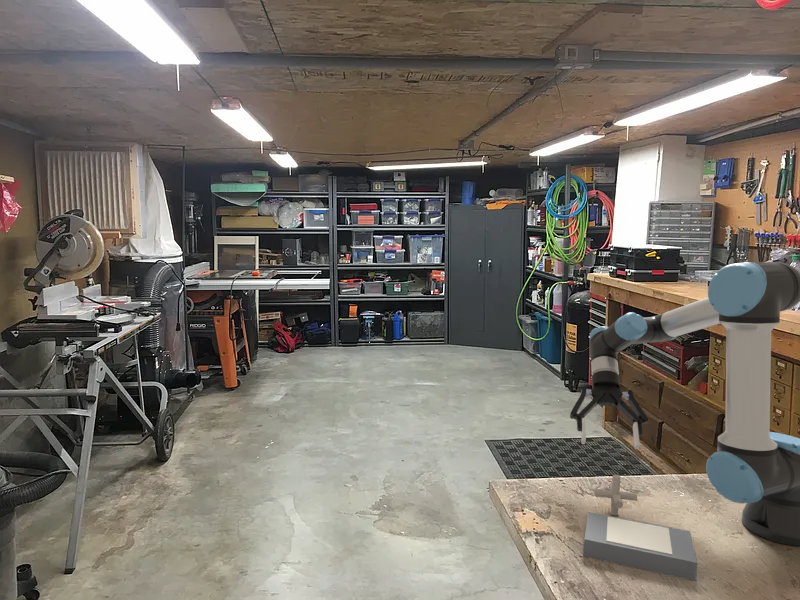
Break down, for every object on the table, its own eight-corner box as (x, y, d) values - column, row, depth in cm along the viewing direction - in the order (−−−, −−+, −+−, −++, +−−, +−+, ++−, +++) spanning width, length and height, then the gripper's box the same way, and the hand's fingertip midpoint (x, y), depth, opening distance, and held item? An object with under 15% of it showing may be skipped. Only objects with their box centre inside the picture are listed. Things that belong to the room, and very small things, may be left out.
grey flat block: (688, 547, 125) (690, 530, 125) (695, 580, 114) (697, 561, 113) (587, 527, 134) (588, 510, 133) (583, 556, 122) (584, 538, 121)
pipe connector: (639, 526, 134) (642, 487, 133) (596, 521, 136) (598, 483, 135) (630, 506, 144) (633, 469, 143) (590, 502, 146) (593, 466, 145)
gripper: (648, 385, 161) (656, 454, 149) (559, 379, 166) (560, 445, 154) (654, 372, 155) (663, 443, 143) (562, 366, 160) (563, 434, 148)
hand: (610, 444), depth 148 cm, fingers open, 13 cm apart
